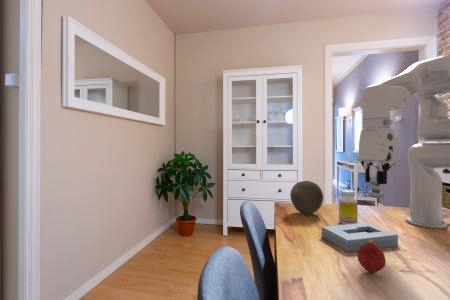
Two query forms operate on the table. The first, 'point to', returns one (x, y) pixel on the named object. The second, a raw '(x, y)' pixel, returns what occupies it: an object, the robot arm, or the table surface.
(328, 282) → the table surface
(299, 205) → the dark brown ball
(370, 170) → the stud
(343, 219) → the supplement bottle
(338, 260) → the table surface
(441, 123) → the robot arm
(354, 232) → the keyhole plate
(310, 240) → the table surface
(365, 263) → the onion
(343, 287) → the table surface
